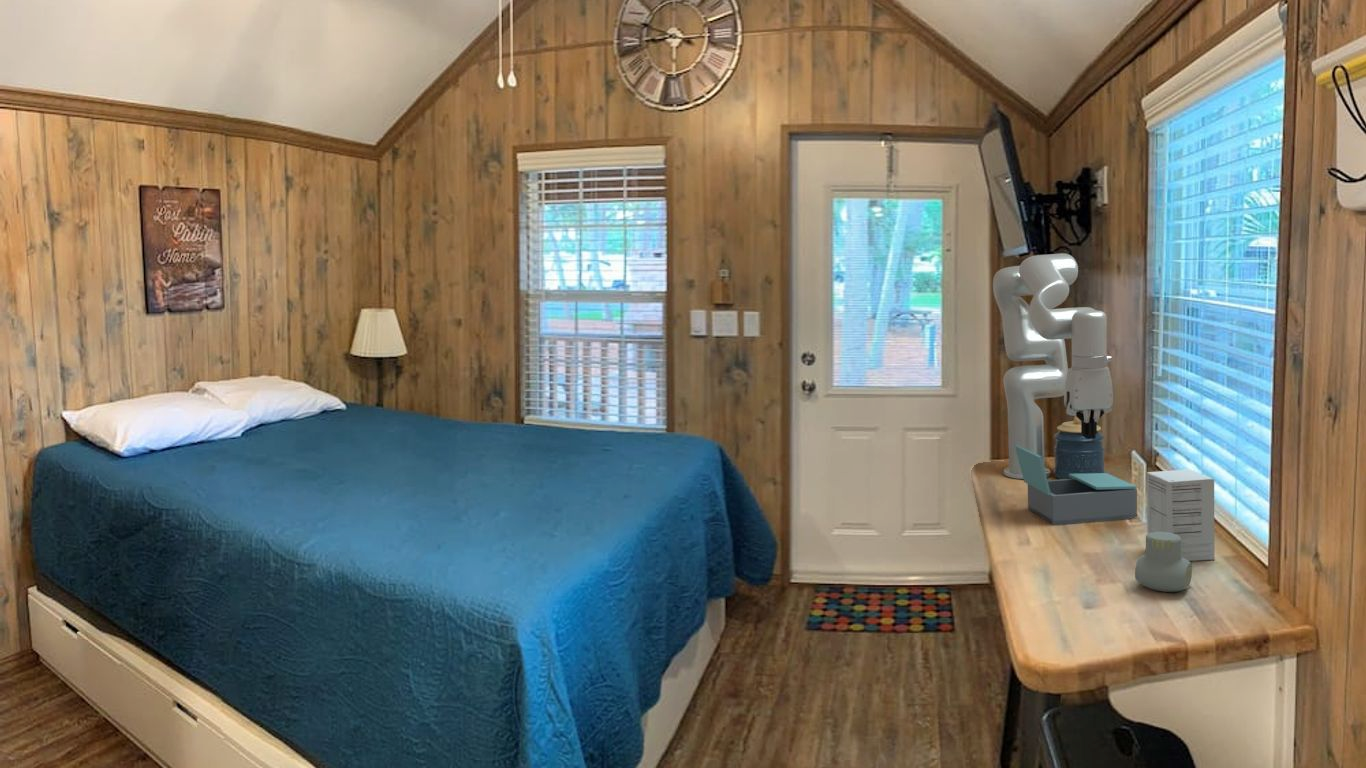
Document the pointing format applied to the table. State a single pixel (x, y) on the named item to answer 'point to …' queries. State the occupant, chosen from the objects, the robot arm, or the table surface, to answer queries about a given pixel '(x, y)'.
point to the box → (1081, 503)
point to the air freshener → (1163, 564)
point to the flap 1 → (1033, 469)
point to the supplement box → (1183, 510)
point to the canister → (1077, 451)
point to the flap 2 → (1102, 481)
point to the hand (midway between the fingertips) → (1089, 437)
